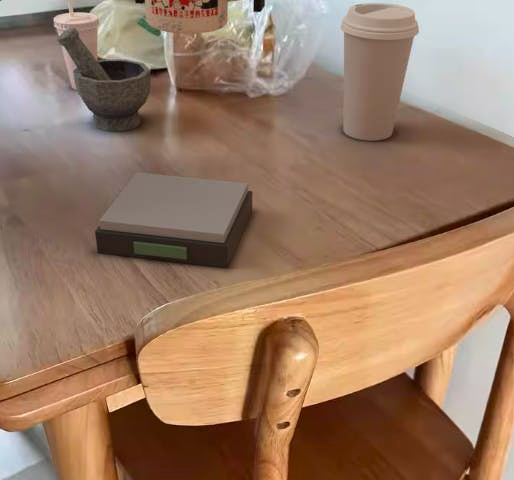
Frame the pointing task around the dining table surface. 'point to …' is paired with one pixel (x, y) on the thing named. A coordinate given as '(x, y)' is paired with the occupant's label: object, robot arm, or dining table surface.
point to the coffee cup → (375, 66)
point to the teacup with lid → (187, 15)
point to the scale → (176, 220)
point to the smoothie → (87, 33)
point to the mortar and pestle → (108, 85)
